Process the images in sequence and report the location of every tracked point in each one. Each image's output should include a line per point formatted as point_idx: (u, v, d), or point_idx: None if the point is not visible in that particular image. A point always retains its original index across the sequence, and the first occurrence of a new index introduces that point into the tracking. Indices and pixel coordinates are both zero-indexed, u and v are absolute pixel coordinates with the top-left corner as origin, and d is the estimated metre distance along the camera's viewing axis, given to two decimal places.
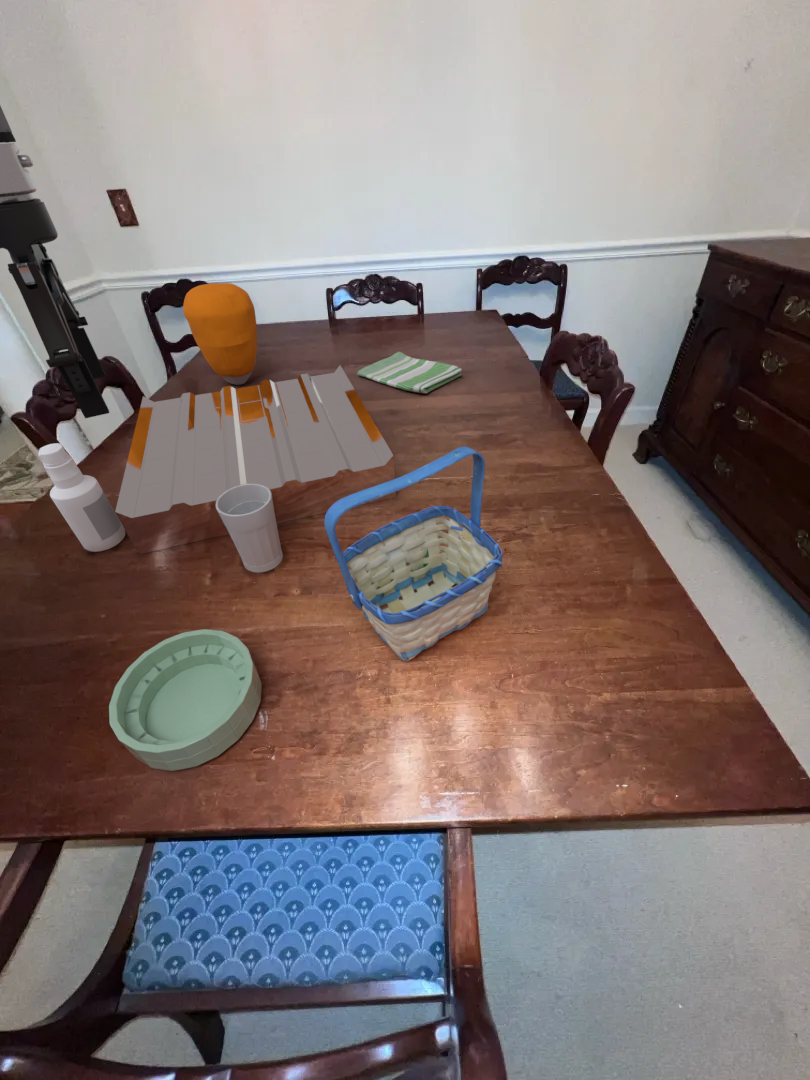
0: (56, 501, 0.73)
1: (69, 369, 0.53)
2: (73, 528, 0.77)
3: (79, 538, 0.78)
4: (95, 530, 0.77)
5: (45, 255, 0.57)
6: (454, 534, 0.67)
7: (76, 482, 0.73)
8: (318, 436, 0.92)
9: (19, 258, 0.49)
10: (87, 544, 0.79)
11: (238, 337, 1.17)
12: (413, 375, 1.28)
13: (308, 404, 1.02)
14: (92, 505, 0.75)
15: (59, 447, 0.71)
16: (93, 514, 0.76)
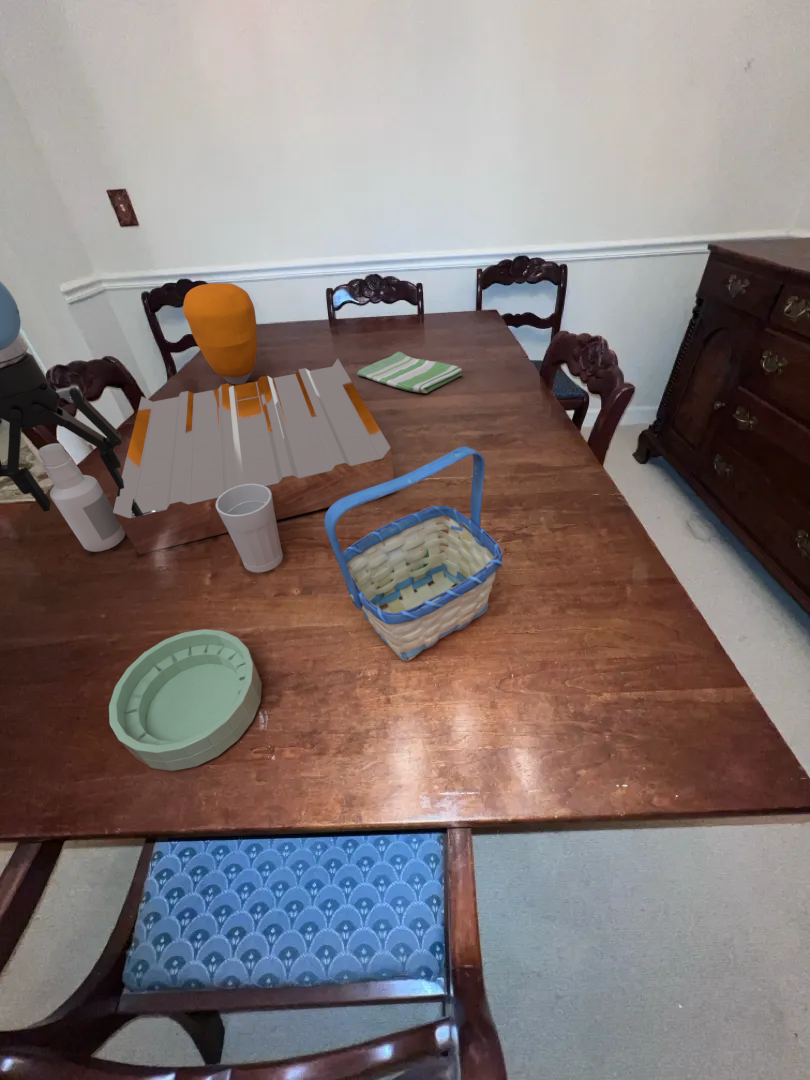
0: (56, 501, 0.73)
1: (113, 450, 0.75)
2: (73, 528, 0.77)
3: (79, 538, 0.78)
4: (95, 530, 0.77)
5: None
6: (454, 534, 0.67)
7: (76, 482, 0.73)
8: (315, 431, 0.91)
9: None
10: (87, 544, 0.79)
11: (238, 337, 1.17)
12: (413, 375, 1.28)
13: (305, 398, 1.02)
14: (92, 505, 0.75)
15: (59, 447, 0.71)
16: (93, 514, 0.76)
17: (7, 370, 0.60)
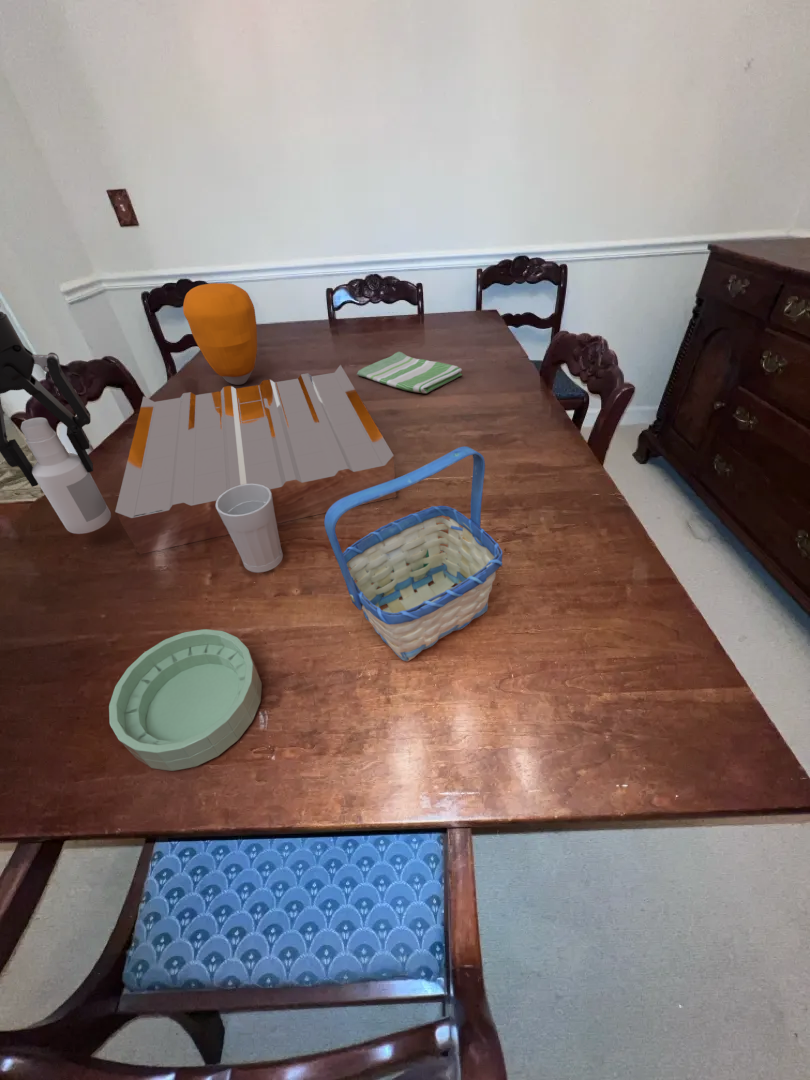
0: (38, 478, 0.70)
1: (82, 430, 0.71)
2: (56, 508, 0.73)
3: (62, 519, 0.75)
4: (79, 510, 0.74)
5: None
6: (454, 534, 0.67)
7: (60, 459, 0.70)
8: (318, 436, 0.92)
9: None
10: (70, 526, 0.75)
11: (238, 337, 1.17)
12: (413, 375, 1.28)
13: (308, 403, 1.02)
14: (77, 484, 0.72)
15: (43, 421, 0.67)
16: (78, 493, 0.72)
17: None
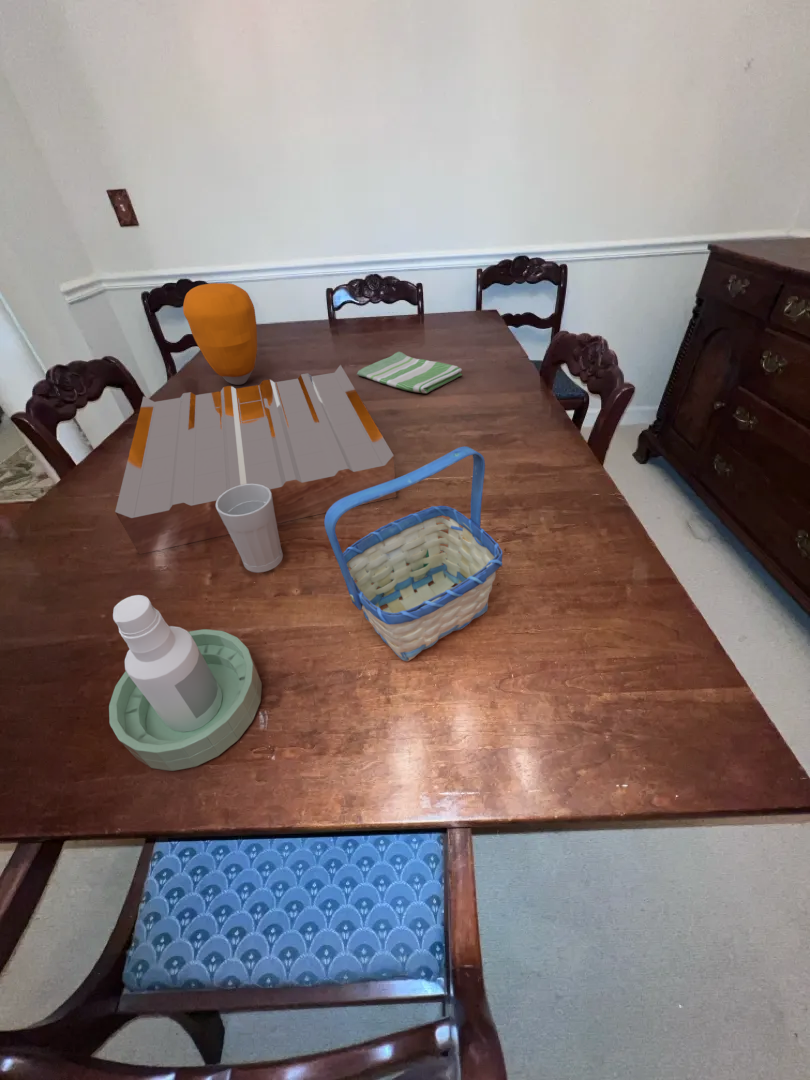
0: (136, 680, 0.47)
1: None
2: (156, 708, 0.51)
3: (163, 717, 0.53)
4: (188, 708, 0.52)
5: None
6: (454, 534, 0.67)
7: (166, 649, 0.48)
8: (318, 436, 0.92)
9: None
10: (173, 725, 0.53)
11: (238, 337, 1.17)
12: (413, 375, 1.28)
13: (308, 403, 1.02)
14: (187, 678, 0.50)
15: (144, 604, 0.45)
16: (188, 689, 0.50)
17: None
